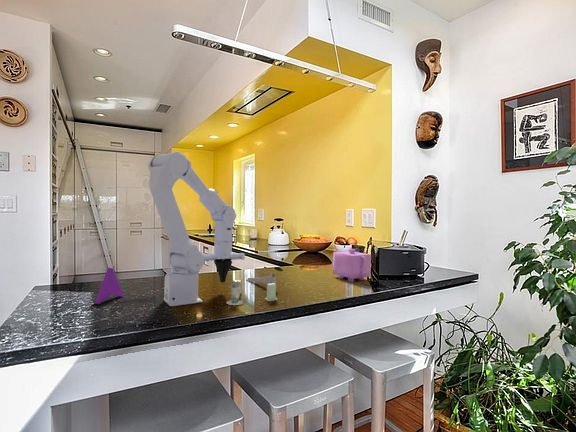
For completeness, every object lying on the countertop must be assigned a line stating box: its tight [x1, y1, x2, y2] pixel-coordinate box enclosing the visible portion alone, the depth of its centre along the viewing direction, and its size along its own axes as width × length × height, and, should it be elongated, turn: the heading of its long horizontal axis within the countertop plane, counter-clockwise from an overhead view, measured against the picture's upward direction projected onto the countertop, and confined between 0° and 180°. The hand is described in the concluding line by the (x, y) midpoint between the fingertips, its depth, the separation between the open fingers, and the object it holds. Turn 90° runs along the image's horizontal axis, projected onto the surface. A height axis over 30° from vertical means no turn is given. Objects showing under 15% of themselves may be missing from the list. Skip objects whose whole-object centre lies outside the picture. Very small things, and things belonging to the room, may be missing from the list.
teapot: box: [332, 248, 372, 282], centre depth 142 cm, size 20×10×12 cm, turn 32°
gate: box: [234, 278, 243, 300], centre depth 107 cm, size 11×2×4 cm, turn 4°
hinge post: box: [225, 280, 244, 307], centre depth 100 cm, size 5×5×7 cm
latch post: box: [264, 283, 278, 302], centre depth 105 cm, size 3×2×5 cm
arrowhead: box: [94, 267, 125, 305], centre depth 100 cm, size 10×2×10 cm
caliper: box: [246, 272, 277, 285], centre depth 124 cm, size 20×1×6 cm, turn 35°
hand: (222, 281), depth 112 cm, fingers closed
